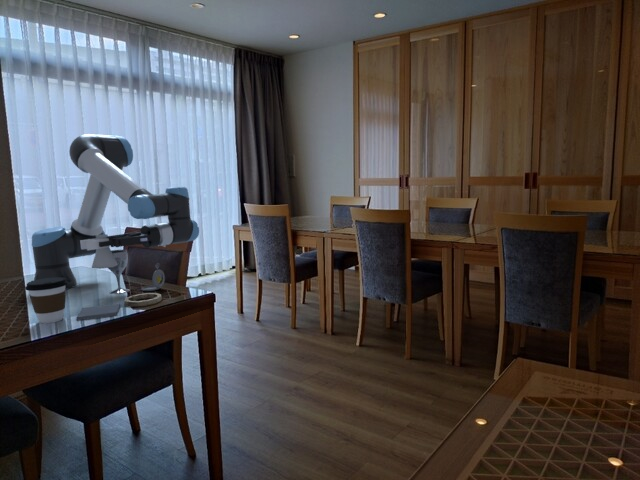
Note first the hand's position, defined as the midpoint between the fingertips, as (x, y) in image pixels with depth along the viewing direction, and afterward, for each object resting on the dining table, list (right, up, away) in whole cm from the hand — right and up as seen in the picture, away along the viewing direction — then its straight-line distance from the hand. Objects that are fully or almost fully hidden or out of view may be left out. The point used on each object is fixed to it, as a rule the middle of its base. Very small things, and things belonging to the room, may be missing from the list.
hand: (84, 245), depth 141 cm
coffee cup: (-10, -22, 0) cm, 24 cm away
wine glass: (-4, -18, +34) cm, 38 cm away
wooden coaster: (+12, -19, +16) cm, 28 cm away
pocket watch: (+9, -17, +33) cm, 39 cm away
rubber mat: (+2, -21, +5) cm, 22 cm away
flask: (+4, -7, +5) cm, 10 cm away
